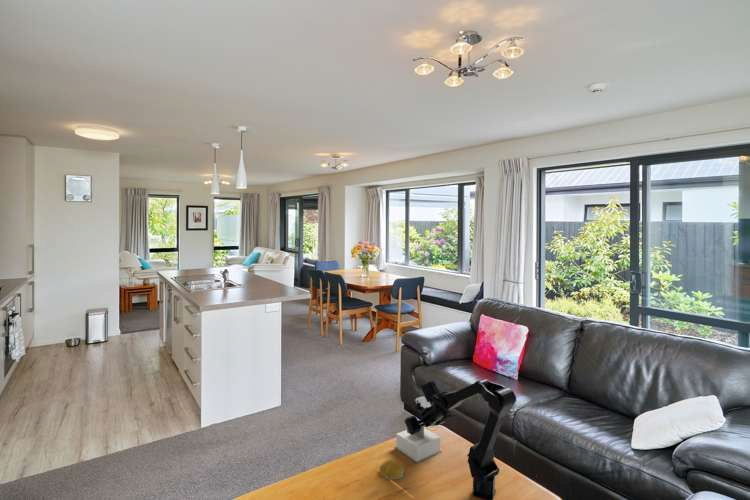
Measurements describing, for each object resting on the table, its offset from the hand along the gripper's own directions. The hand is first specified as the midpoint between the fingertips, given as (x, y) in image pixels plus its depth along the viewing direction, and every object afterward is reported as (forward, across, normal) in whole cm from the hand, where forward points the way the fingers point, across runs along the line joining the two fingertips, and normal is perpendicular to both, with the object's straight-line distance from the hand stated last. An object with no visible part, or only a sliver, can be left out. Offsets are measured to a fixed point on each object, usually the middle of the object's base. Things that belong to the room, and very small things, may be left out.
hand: (415, 428), depth 166 cm
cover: (+5, 0, +7) cm, 8 cm away
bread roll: (+1, +18, +11) cm, 22 cm away
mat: (+5, 0, +7) cm, 9 cm away
